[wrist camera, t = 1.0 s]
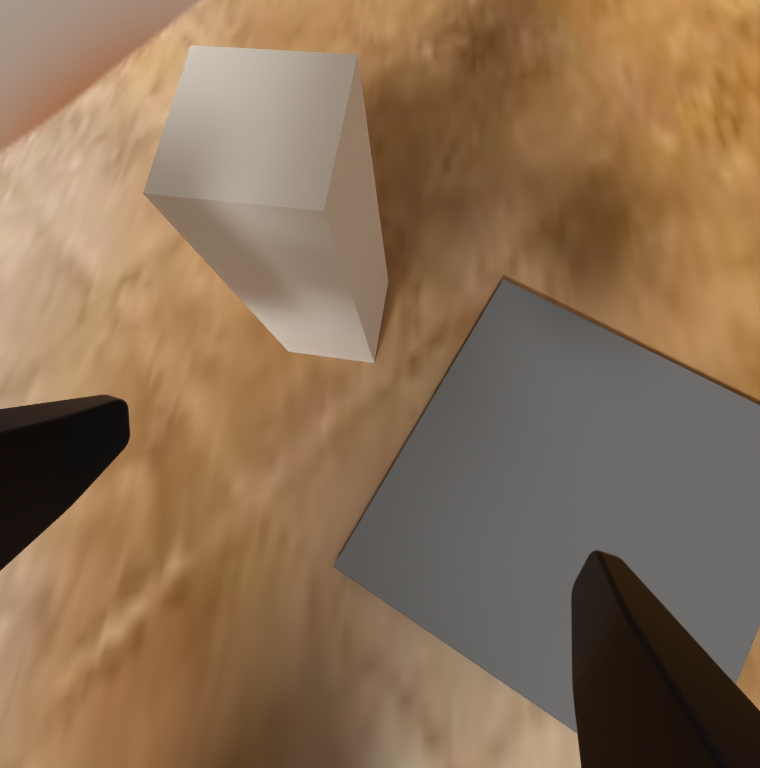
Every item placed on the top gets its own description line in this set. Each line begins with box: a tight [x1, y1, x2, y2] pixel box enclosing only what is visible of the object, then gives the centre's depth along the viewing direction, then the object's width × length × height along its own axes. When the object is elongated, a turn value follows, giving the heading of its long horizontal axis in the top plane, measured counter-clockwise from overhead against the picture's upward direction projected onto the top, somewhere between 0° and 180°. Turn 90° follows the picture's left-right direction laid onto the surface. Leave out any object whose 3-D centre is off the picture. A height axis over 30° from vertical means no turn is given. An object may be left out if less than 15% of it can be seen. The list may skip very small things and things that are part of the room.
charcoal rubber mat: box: [333, 279, 760, 733], centre depth 20 cm, size 16×16×1 cm
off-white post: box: [143, 45, 388, 363], centre depth 17 cm, size 4×4×12 cm
